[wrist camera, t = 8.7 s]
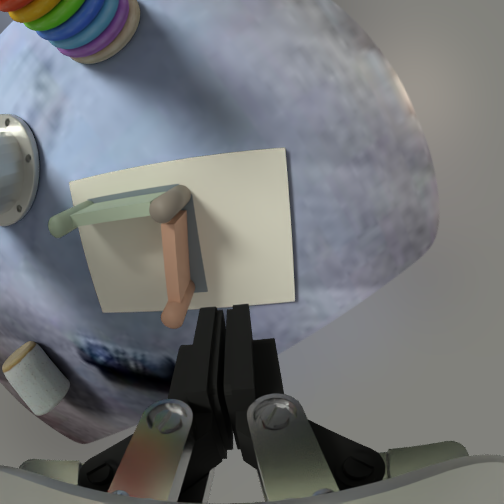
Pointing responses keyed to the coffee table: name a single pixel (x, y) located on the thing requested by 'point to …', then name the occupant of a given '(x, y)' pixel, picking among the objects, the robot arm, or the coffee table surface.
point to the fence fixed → (100, 213)
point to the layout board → (196, 232)
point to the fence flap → (174, 252)
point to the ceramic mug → (35, 378)
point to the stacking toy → (79, 24)
